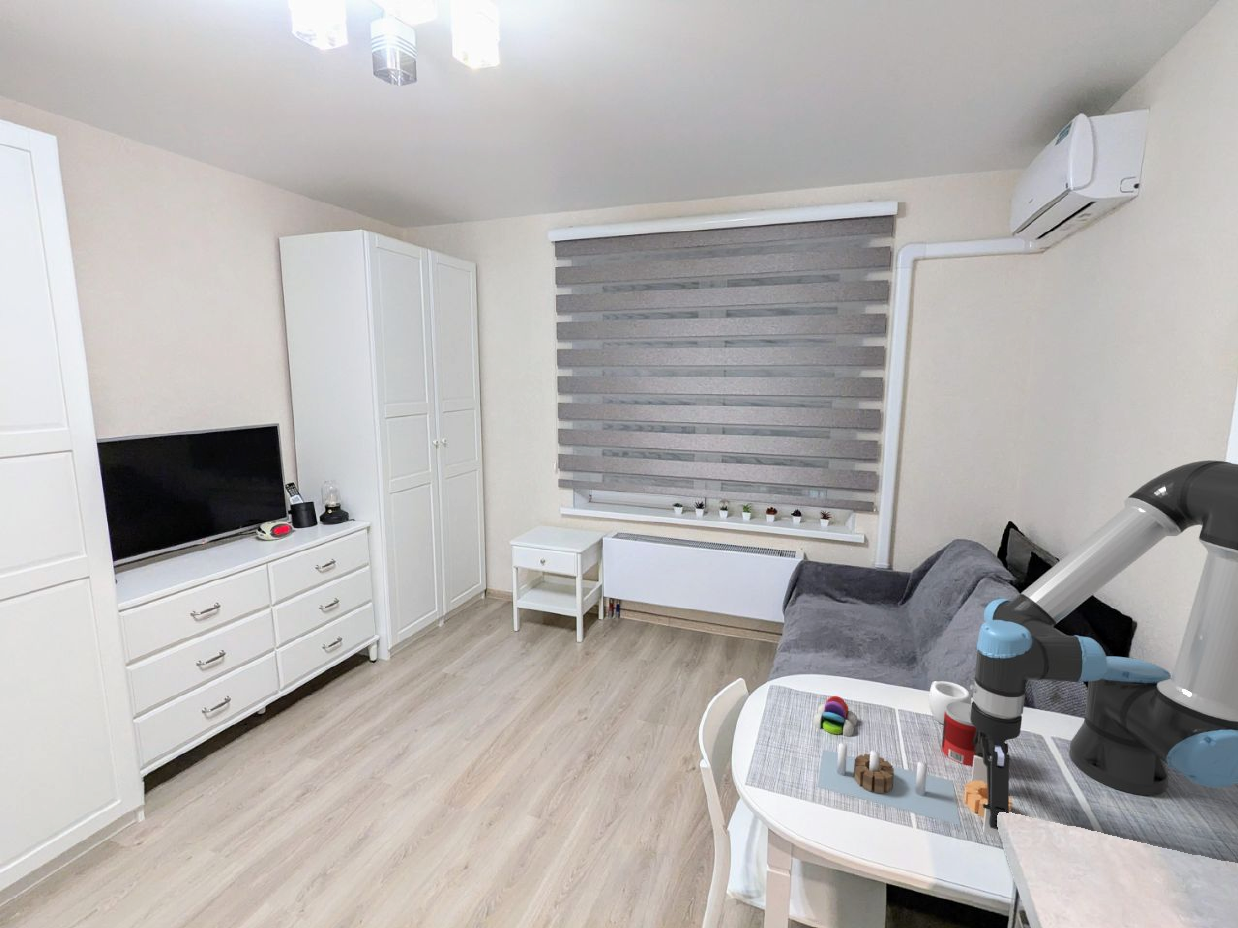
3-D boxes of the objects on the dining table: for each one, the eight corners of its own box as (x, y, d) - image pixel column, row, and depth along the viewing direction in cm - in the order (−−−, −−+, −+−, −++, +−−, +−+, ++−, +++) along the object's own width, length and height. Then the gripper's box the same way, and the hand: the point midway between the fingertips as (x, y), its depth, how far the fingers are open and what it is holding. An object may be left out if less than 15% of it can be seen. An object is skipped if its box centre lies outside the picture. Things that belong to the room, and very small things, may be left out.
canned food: (991, 775, 115) (996, 725, 113) (948, 770, 117) (952, 721, 115) (976, 750, 122) (980, 703, 121) (935, 746, 124) (939, 699, 122)
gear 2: (1004, 805, 107) (1006, 786, 106) (1012, 833, 101) (1015, 813, 100) (961, 794, 110) (963, 776, 109) (966, 821, 103) (968, 801, 103)
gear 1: (892, 772, 114) (893, 759, 113) (893, 797, 107) (894, 783, 107) (854, 763, 116) (855, 750, 116) (853, 786, 110) (853, 772, 110)
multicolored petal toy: (858, 723, 132) (860, 694, 131) (850, 746, 124) (851, 716, 123) (820, 712, 137) (822, 684, 136) (810, 734, 129) (811, 704, 128)
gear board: (952, 787, 112) (955, 753, 110) (959, 832, 101) (963, 795, 100) (822, 755, 121) (824, 723, 120) (817, 793, 111) (818, 758, 109)
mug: (977, 731, 129) (980, 699, 127) (940, 731, 129) (942, 699, 127) (947, 700, 141) (950, 671, 139) (913, 701, 141) (915, 671, 139)
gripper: (963, 669, 114) (953, 764, 118) (983, 743, 92) (971, 858, 95) (1007, 677, 111) (996, 774, 115) (1039, 756, 89) (1025, 873, 92)
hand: (984, 812), depth 105 cm, fingers open, 13 cm apart
